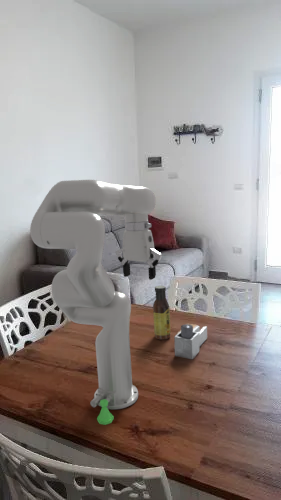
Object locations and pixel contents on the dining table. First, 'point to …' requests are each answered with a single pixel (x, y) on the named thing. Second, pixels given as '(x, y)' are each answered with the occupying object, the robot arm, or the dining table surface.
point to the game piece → (104, 413)
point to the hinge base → (187, 344)
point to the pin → (187, 331)
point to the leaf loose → (202, 335)
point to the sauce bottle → (161, 314)
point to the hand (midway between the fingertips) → (139, 277)
